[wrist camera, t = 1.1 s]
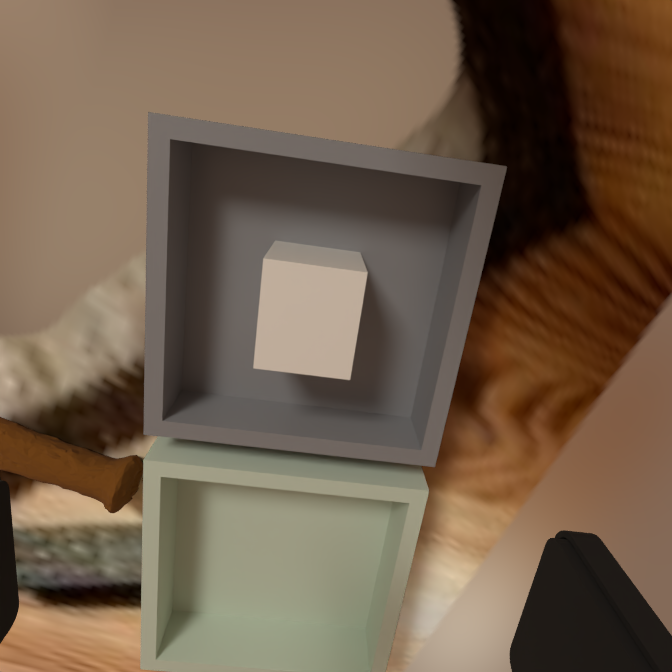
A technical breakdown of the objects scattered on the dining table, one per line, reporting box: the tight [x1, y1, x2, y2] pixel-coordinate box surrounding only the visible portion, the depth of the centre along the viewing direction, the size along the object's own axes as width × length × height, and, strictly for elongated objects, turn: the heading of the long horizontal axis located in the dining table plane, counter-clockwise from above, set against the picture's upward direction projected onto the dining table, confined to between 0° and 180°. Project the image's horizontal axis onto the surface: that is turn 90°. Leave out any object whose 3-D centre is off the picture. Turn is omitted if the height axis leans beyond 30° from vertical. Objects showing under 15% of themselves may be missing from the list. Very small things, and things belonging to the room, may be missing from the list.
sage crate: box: [140, 436, 429, 672], centre depth 30 cm, size 15×15×4 cm
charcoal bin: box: [144, 112, 507, 467], centre depth 25 cm, size 15×15×4 cm
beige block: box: [253, 241, 368, 380], centre depth 24 cm, size 5×4×5 cm
